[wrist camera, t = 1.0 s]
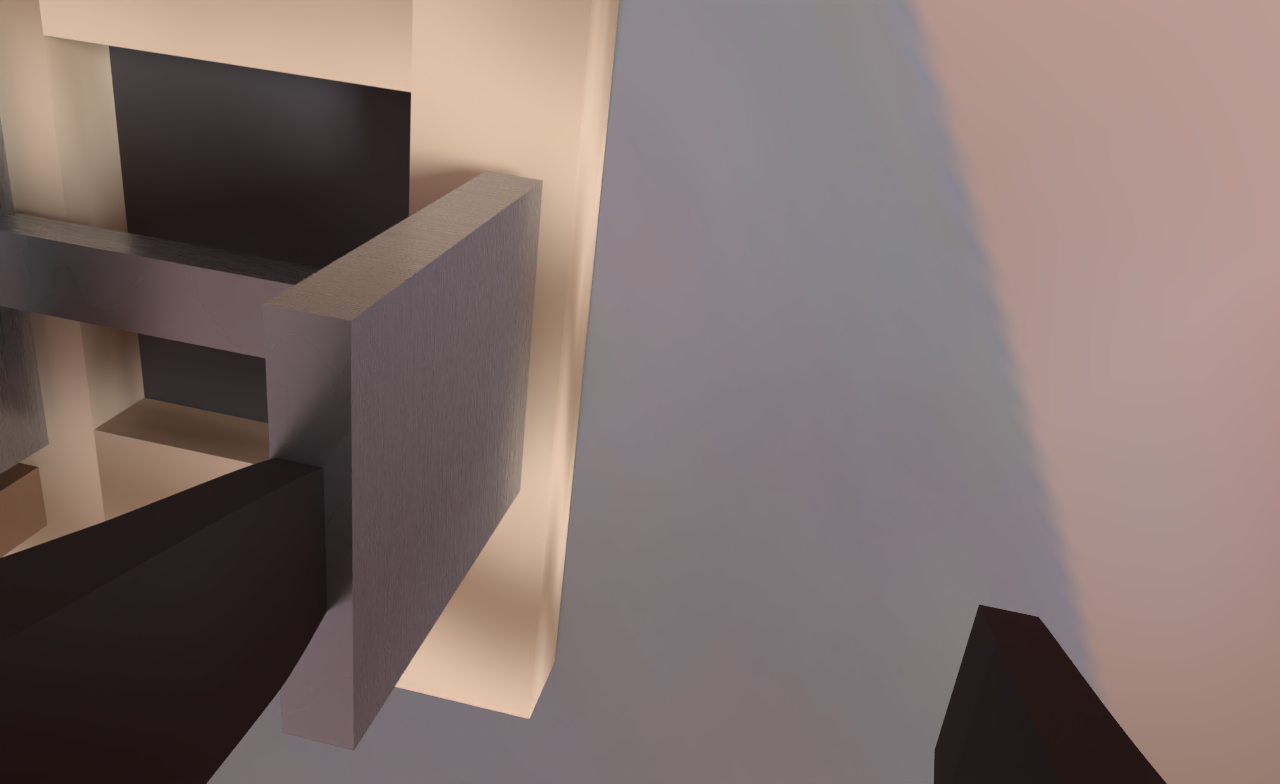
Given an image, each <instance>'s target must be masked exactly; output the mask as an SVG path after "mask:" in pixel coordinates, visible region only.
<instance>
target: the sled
mask: <svg viewBox="0 0 1280 784" xmlns="http://www.w3.org/2000/svg"><path fill="white" fill-rule="evenodd" d="M542 186H543V180H537V179H531V178H525V177H519V176H513V175H507V174H501V173H495V172H489V171H485V172H483V173H481V174H480V175H478V176H476V177H475V178H473V179H471V180H470V181H468V182H466V183H465V184H463V185H461V186H460V187H458V188H456V189H455V190H453V191H451V192H450V193H448V194H446V195H445V196H443V197H441V198H440V199H438V200H436V201H435V202H433V203H431V204H430V205H428V206H426V207H425V208H423V209H421V210H420V211H418V212H416V213H415V214H413V215H411V216H409V217H408V218H406V219H404V220H403V221H401V222H399V223H398V224H396V225H394V226H393V227H391V228H389V229H388V230H386V231H384V232H383V233H381V234H379V235H378V236H376V237H374V238H373V239H371V240H369V241H368V242H366V243H364V244H363V245H361V246H359V247H358V248H356V249H354V250H353V251H351V252H349V253H348V254H346V255H344V256H343V257H341V258H339V259H338V260H336V261H334V262H333V263H331V264H329V265H328V266H326V267H324V268H317V267H312V266H306V265H301V264H296V263H290V262H285V261H279V260H274V259H268V258H263V257H257V256H252V255H246V254H241V253H235V252H230V251H224V250H219V249H213V248H208V247H203V246H197V245H192V244H186V243H181V242H175V241H170V240H164V239H159V238H153V237H148V236H142V235H137V234H131V233H126V232H120V231H115V230H110V229H104V228H99V227H93V226H88V225H82V224H77V223H71V222H66V221H60V220H55V219H49V218H44V217H38V216H33V215H27V214H22V213H16V212H14V206H13V199H12V192H11V186H10V179H9V172H8V165H7V159H6V152H5V145H4V139H3V132H2V125H1V118H0V474H1V473H3V472H4V471H6V470H8V469H9V468H11V467H13V466H14V465H16V464H18V463H19V462H21V461H22V460H24V459H26V458H27V457H29V456H31V455H32V454H34V453H35V452H37V451H39V450H40V449H42V448H44V447H45V446H47V445H49V441H48V434H47V427H46V421H45V414H44V407H43V400H42V394H41V387H40V380H39V374H38V367H37V360H36V353H35V347H34V340H33V333H32V327H31V320H30V313H29V312H33V313H38V314H43V315H49V316H54V317H59V318H64V319H69V320H74V321H79V322H84V323H89V324H94V325H99V326H104V327H109V328H114V329H119V330H125V331H130V332H135V333H140V334H145V335H150V336H155V337H160V338H165V339H170V340H175V341H180V342H185V343H190V344H195V345H200V346H206V347H211V348H216V349H221V350H226V351H231V352H236V353H241V354H246V355H251V356H256V357H261V358H265V361H266V383H267V404H268V426H269V448H270V459H273V458H279V459H284V460H288V461H293V462H298V463H303V464H308V465H312V466H317V467H322V468H324V509H325V550H326V591H327V612H326V614H325V616H324V618H323V619H322V621H321V623H320V625H319V627H318V628H317V630H316V632H315V634H314V635H313V637H312V639H311V641H310V643H309V644H308V646H307V648H306V650H305V651H304V653H303V655H302V656H301V658H300V660H299V661H298V663H297V664H296V666H295V668H294V669H293V671H292V673H291V674H290V676H289V678H288V679H287V681H286V682H285V684H284V685H283V686H282V688H281V710H282V732H283V733H286V734H290V735H294V736H298V737H302V738H306V739H310V740H314V741H318V742H322V743H326V744H330V745H334V746H338V747H342V748H346V749H350V750H354V749H355V748H356V746H357V745H358V743H359V742H360V740H361V738H362V737H363V735H364V734H365V732H366V731H367V729H368V728H369V726H370V724H371V723H372V721H373V720H374V718H375V717H376V715H377V713H378V712H379V710H380V709H381V707H382V706H383V704H384V703H385V701H386V699H387V698H388V696H389V695H390V693H391V692H392V690H393V689H394V687H395V685H396V684H397V682H398V681H399V679H400V678H401V676H402V674H403V673H404V671H405V670H406V668H407V667H408V665H409V664H410V662H411V660H412V659H413V657H414V656H415V654H416V653H417V651H418V649H419V648H420V646H421V645H422V643H423V642H424V640H425V639H426V637H427V635H428V634H429V632H430V631H431V629H432V628H433V626H434V624H435V623H436V621H437V620H438V618H439V617H440V615H441V614H442V612H443V610H444V609H445V607H446V606H447V604H448V603H449V601H450V600H451V598H452V596H453V595H454V593H455V592H456V590H457V589H458V587H459V585H460V584H461V582H462V581H463V579H464V578H465V576H466V575H467V573H468V571H469V570H470V568H471V567H472V565H473V564H474V562H475V560H476V559H477V557H478V556H479V554H480V553H481V551H482V550H483V548H484V546H485V545H486V543H487V542H488V540H489V539H490V537H491V535H492V534H493V532H494V531H495V529H496V528H497V526H498V525H499V523H500V521H501V520H502V518H503V517H504V515H505V514H506V512H507V511H508V509H509V507H510V506H511V504H512V503H513V501H514V500H515V498H516V496H517V495H518V493H519V492H520V486H521V473H522V459H523V445H524V432H525V418H526V404H527V391H528V377H529V364H530V350H531V336H532V323H533V309H534V295H535V282H536V268H537V254H538V241H539V227H540V214H541V200H542Z"/></svg>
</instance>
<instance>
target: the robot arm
mask: <svg viewBox="0 0 1280 784" xmlns="http://www.w3.org/2000/svg"><path fill="white" fill-rule="evenodd" d="M326 612H327V591H326V550H325V509H324V468H322V467H317V466H312V465H308V464H303V463H298V462H293V461H288V460H284V459H279V458H273V459H270V460H266V461H263V462H259V463H256V464H253V465H250V466H247V467H244V468H242V469H239V470H236V471H233V472H231V473H228V474H225V475H223V476H220V477H217V478H215V479H212V480H210V481H207V482H204V483H202V484H199V485H197V486H194V487H192V488H189V489H187V490H184V491H182V492H179V493H176V494H174V495H171V496H169V497H166V498H164V499H161V500H158V501H156V502H153V503H151V504H148V505H146V506H143V507H141V508H138V509H135V510H133V511H130V512H128V513H125V514H123V515H120V516H117V517H115V518H112V519H110V520H107V521H104V522H102V523H99V524H96V525H93V526H90V527H87V528H85V529H82V530H79V531H76V532H73V533H70V534H67V535H65V536H62V537H59V538H56V539H53V540H50V541H48V542H45V543H42V544H39V545H36V546H33V547H31V548H28V549H25V550H22V551H19V552H16V553H14V554H11V555H7V556H4V557H1V558H0V784H206V783H207V782H208V781H209V779H210V778H211V777H212V776H213V774H214V773H215V772H216V771H217V769H218V768H219V767H220V766H221V764H222V763H223V762H224V761H225V759H226V758H227V757H228V756H229V754H230V753H231V752H232V751H233V749H234V748H235V747H236V746H237V744H238V743H239V742H240V740H241V739H242V738H243V737H244V735H245V734H246V733H247V732H248V730H249V729H250V728H251V726H252V725H253V724H254V723H255V721H256V720H257V719H258V717H259V716H260V715H261V714H262V712H263V711H264V710H265V708H266V707H267V706H268V705H269V703H270V702H271V701H272V699H273V698H274V697H275V696H276V694H277V693H278V692H279V690H280V689H281V688H282V686H283V685H284V684H285V682H286V681H287V679H288V678H289V676H290V674H291V673H292V671H293V669H294V668H295V666H296V664H297V663H298V661H299V660H300V658H301V656H302V655H303V653H304V651H305V650H306V648H307V646H308V644H309V643H310V641H311V639H312V637H313V635H314V634H315V632H316V630H317V628H318V627H319V625H320V623H321V621H322V619H323V618H324V616H325V614H326ZM934 784H1166V782H1165V781H1164V780H1163V779H1162V778H1161V776H1160V775H1159V774H1158V773H1157V772H1156V770H1155V769H1154V768H1153V767H1152V766H1151V764H1150V763H1149V762H1148V761H1147V759H1146V758H1145V757H1144V756H1143V754H1142V753H1141V752H1140V751H1139V749H1138V748H1137V747H1136V746H1135V744H1134V743H1133V742H1132V741H1131V739H1130V738H1129V737H1128V735H1127V734H1126V733H1125V732H1124V731H1123V729H1122V728H1121V727H1120V725H1119V724H1118V723H1117V721H1116V720H1115V719H1114V717H1113V716H1112V715H1111V713H1110V712H1109V711H1108V710H1107V708H1106V707H1105V706H1104V704H1103V703H1102V702H1101V700H1100V699H1099V698H1098V696H1097V695H1096V694H1095V692H1094V691H1093V690H1092V688H1091V687H1090V686H1089V684H1088V683H1087V682H1086V680H1085V679H1084V677H1083V676H1082V675H1081V673H1080V672H1079V671H1078V669H1077V668H1076V667H1075V665H1074V664H1073V663H1072V661H1071V660H1070V658H1069V657H1068V656H1067V654H1066V653H1065V652H1064V650H1063V649H1062V647H1061V646H1060V645H1059V643H1058V642H1057V641H1056V639H1055V638H1054V637H1053V635H1052V634H1051V633H1050V631H1049V630H1048V629H1047V627H1046V626H1045V625H1044V623H1043V622H1042V621H1041V620H1040V618H1039V617H1036V616H1031V615H1026V614H1022V613H1017V612H1012V611H1007V610H1002V609H998V608H993V607H988V606H983V605H979V607H978V610H977V614H976V617H975V620H974V623H973V627H972V630H971V633H970V637H969V640H968V643H967V646H966V650H965V653H964V656H963V659H962V663H961V666H960V669H959V672H958V676H957V679H956V682H955V686H954V689H953V692H952V695H951V699H950V702H949V705H948V708H947V712H946V715H945V718H944V721H943V725H942V728H941V731H940V735H939V738H938V741H937V744H936V748H935V759H934Z"/></svg>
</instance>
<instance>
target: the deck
mask: <svg viewBox="0 0 1280 784" xmlns="http://www.w3.org/2000/svg"><path fill="white" fill-rule="evenodd" d="M618 9H619V0H0V118H1V125H2V132H3V139H4V145H5V152H6V159H7V165H8V172H9V179H10V186H11V192H12V199H13V206H14V212H16V213H22V214H27V215H33V216H38V217H44V218H49V219H55V220H60V221H66V222H71V223H77V224H82V225H88V226H93V227H99V228H104V229H110V230H115V231H120V232H126V233H131V234H137V235H142V236H148V237H153V238H159V239H164V240H170V241H175V242H181V243H186V244H192V245H197V246H203V247H208V248H213V249H219V250H224V251H230V252H235V253H241V254H246V255H252V256H257V257H263V258H268V259H274V260H279V261H285V262H290V263H296V264H301V265H306V266H312V267H317V268H324V267H326V266H328V265H329V264H331V263H333V262H334V261H336V260H338V259H339V258H341V257H343V256H344V255H346V254H348V253H349V252H351V251H353V250H354V249H356V248H358V247H359V246H361V245H363V244H364V243H366V242H368V241H369V240H371V239H373V238H374V237H376V236H378V235H379V234H381V233H383V232H384V231H386V230H388V229H389V228H391V227H393V226H394V225H396V224H398V223H399V222H401V221H403V220H404V219H406V218H408V217H409V216H411V215H413V214H415V213H416V212H418V211H420V210H421V209H423V208H425V207H426V206H428V205H430V204H431V203H433V202H435V201H436V200H438V199H440V198H441V197H443V196H445V195H446V194H448V193H450V192H451V191H453V190H455V189H456V188H458V187H460V186H461V185H463V184H465V183H466V182H468V181H470V180H471V179H473V178H475V177H476V176H478V175H480V174H481V173H483V172H485V171H489V172H495V173H501V174H507V175H513V176H519V177H525V178H531V179H537V180H543V186H542V200H541V214H540V227H539V241H538V254H537V268H536V282H535V295H534V309H533V323H532V336H531V350H530V364H529V377H528V391H527V404H526V418H525V432H524V445H523V459H522V473H521V486H520V492H519V493H518V495H517V496H516V498H515V500H514V501H513V503H512V504H511V506H510V507H509V509H508V511H507V512H506V514H505V515H504V517H503V518H502V520H501V521H500V523H499V525H498V526H497V528H496V529H495V531H494V532H493V534H492V535H491V537H490V539H489V540H488V542H487V543H486V545H485V546H484V548H483V550H482V551H481V553H480V554H479V556H478V557H477V559H476V560H475V562H474V564H473V565H472V567H471V568H470V570H469V571H468V573H467V575H466V576H465V578H464V579H463V581H462V582H461V584H460V585H459V587H458V589H457V590H456V592H455V593H454V595H453V596H452V598H451V600H450V601H449V603H448V604H447V606H446V607H445V609H444V610H443V612H442V614H441V615H440V617H439V618H438V620H437V621H436V623H435V624H434V626H433V628H432V629H431V631H430V632H429V634H428V635H427V637H426V639H425V640H424V642H423V643H422V645H421V646H420V648H419V649H418V651H417V653H416V654H415V656H414V657H413V659H412V660H411V662H410V664H409V665H408V667H407V668H406V670H405V671H404V673H403V674H402V676H401V678H400V679H399V681H398V682H397V684H396V685H395V687H399V688H403V689H407V690H411V691H416V692H420V693H424V694H428V695H432V696H436V697H440V698H445V699H449V700H453V701H457V702H461V703H465V704H469V705H474V706H478V707H482V708H486V709H490V710H494V711H499V712H503V713H507V714H511V715H515V716H519V717H523V718H528V719H529V718H530V716H531V714H532V712H533V709H534V707H535V705H536V703H537V700H538V698H539V696H540V693H541V691H542V689H543V687H544V684H545V682H546V680H547V678H548V675H549V673H550V671H551V669H552V666H553V664H554V662H555V653H556V642H557V632H558V622H559V612H560V602H561V591H562V581H563V571H564V561H565V550H566V540H567V530H568V520H569V510H570V499H571V489H572V479H573V469H574V459H575V448H576V438H577V428H578V418H579V407H580V397H581V387H582V377H583V367H584V356H585V346H586V336H587V326H588V315H589V305H590V295H591V285H592V275H593V264H594V254H595V244H596V234H597V223H598V213H599V203H600V193H601V183H602V172H603V162H604V152H605V142H606V131H607V121H608V111H609V101H610V91H611V80H612V70H613V60H614V50H615V39H616V29H617V19H618ZM29 313H30V320H31V327H32V333H33V340H34V347H35V353H36V360H37V367H38V374H39V380H40V387H41V394H42V400H43V407H44V414H45V421H46V427H47V434H48V441H49V445H47V446H45V447H44V448H42V449H40V450H39V451H37V452H35V453H34V454H32V455H31V456H29V457H27V458H26V459H24V460H22V461H21V462H19V463H22V464H27V465H31V466H36V467H39V473H40V480H41V486H42V493H43V499H44V506H45V512H46V518H47V526H45V527H44V528H42V529H41V530H40V531H38V532H37V533H35V534H34V535H32V536H31V537H30V538H28V539H27V540H25V541H24V542H23V543H21V544H20V545H18V546H17V547H16V548H14V549H13V550H11V551H10V552H8V553H7V554H6V555H4V556H7V555H11V554H14V553H16V552H19V551H22V550H25V549H28V548H31V547H33V546H36V545H39V544H42V543H45V542H48V541H50V540H53V539H56V538H59V537H62V536H65V535H67V534H70V533H73V532H76V531H79V530H82V529H85V528H87V527H90V526H93V525H96V524H99V523H102V522H104V521H107V520H110V519H112V518H115V517H117V516H120V515H123V514H125V513H128V512H130V511H133V510H135V509H138V508H141V507H143V506H146V505H148V504H151V503H153V502H156V501H158V500H161V499H164V498H166V497H169V496H171V495H174V494H176V493H179V492H182V491H184V490H187V489H189V488H192V487H194V486H197V485H199V484H202V483H204V482H207V481H210V480H212V479H215V478H217V477H220V476H223V475H225V474H228V473H231V472H233V471H236V470H239V469H242V468H244V467H247V466H250V465H253V464H256V463H259V462H263V461H266V460H270V448H269V426H268V404H267V383H266V361H265V358H261V357H256V356H251V355H246V354H241V353H236V352H231V351H226V350H221V349H216V348H211V347H206V346H200V345H195V344H190V343H185V342H180V341H175V340H170V339H165V338H160V337H155V336H150V335H145V334H140V333H135V332H130V331H125V330H119V329H114V328H109V327H104V326H99V325H94V324H89V323H84V322H79V321H74V320H69V319H64V318H59V317H54V316H49V315H43V314H38V313H33V312H29ZM4 556H3V557H4Z"/></svg>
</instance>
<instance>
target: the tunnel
mask: <svg viewBox="0 0 1280 784" xmlns="http://www.w3.org/2000/svg"><path fill="white" fill-rule="evenodd" d="M45 526H47V518H46V512H45V506H44V499H43V493H42V486H41V480H40V473H39V467H36V466H31V465H27V464H22V463H18V464H16V465H14V466H13V467H11V468H9V469H8V470H6V471H4V472H3V473H1V474H0V558H1V557H3V556H4V555H6V554H7V553H8V552H10V551H11V550H13V549H14V548H16V547H17V546H18V545H20V544H21V543H23V542H24V541H25V540H27V539H28V538H30V537H31V536H32V535H34V534H35V533H37V532H38V531H40V530H41V529H42V528H44V527H45Z"/></svg>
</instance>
